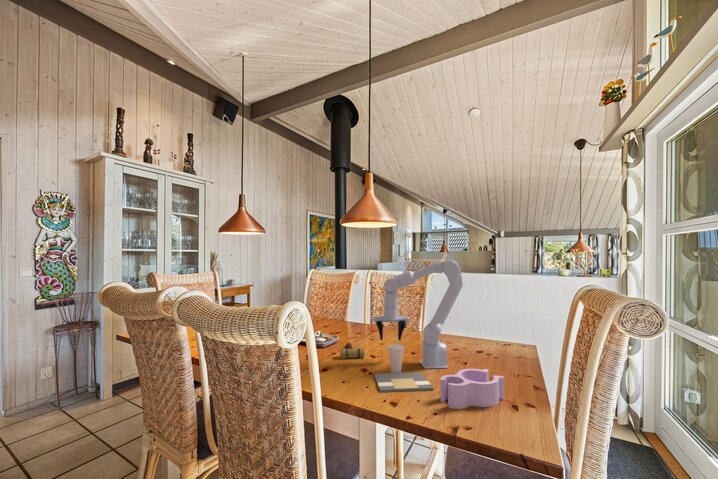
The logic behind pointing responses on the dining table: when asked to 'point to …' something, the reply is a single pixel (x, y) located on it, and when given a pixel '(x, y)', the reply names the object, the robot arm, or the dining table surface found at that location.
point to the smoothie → (396, 357)
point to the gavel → (351, 352)
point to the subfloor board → (402, 382)
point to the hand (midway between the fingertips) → (390, 339)
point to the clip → (471, 389)
